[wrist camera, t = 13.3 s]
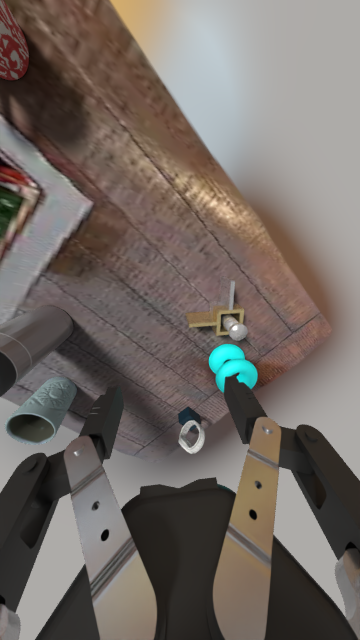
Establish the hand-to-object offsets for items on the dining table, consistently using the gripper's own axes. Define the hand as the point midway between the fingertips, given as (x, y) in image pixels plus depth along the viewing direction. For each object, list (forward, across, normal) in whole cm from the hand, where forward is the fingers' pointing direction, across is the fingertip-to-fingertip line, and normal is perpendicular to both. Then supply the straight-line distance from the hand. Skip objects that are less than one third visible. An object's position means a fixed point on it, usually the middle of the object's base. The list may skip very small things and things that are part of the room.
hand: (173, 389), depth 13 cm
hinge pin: (+30, -13, +5) cm, 33 cm away
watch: (+30, -4, +40) cm, 50 cm away
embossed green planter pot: (+30, +32, +25) cm, 51 cm away
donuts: (+30, -15, +19) cm, 39 cm away
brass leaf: (+30, -10, +5) cm, 32 cm away
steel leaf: (+30, -13, +2) cm, 33 cm away
